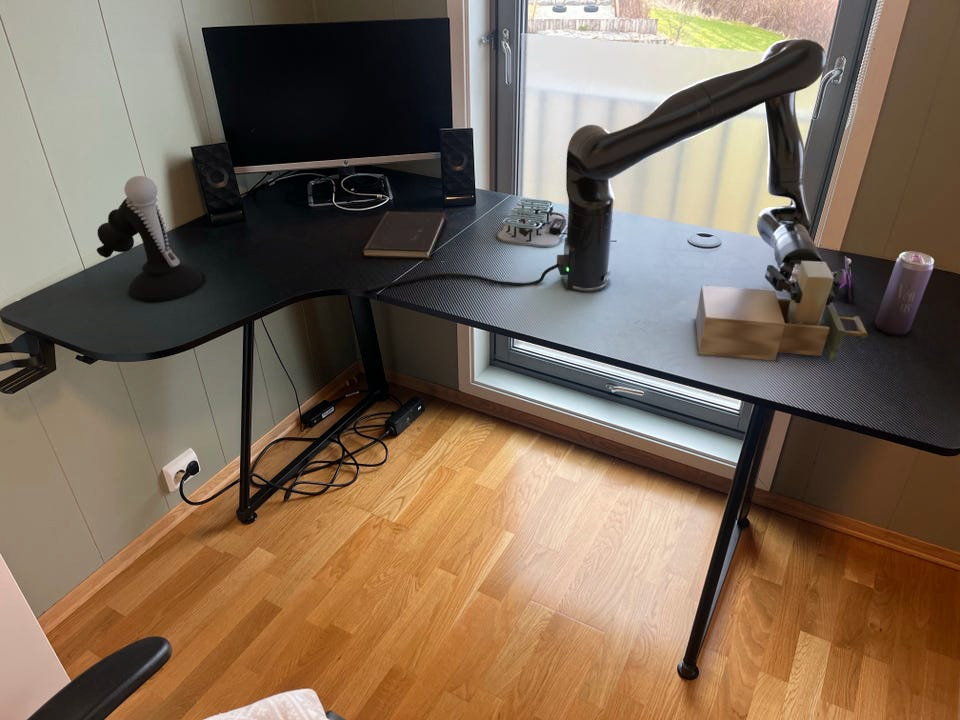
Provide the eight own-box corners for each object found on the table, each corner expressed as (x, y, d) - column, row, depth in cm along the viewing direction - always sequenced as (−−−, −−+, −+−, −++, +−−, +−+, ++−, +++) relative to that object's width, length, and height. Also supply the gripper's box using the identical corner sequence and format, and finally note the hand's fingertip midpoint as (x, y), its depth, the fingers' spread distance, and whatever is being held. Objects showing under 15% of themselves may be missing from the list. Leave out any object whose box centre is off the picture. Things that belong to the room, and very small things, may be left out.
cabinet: (766, 325, 137) (774, 290, 132) (775, 360, 127) (785, 323, 122) (695, 320, 139) (701, 285, 135) (699, 354, 129) (706, 317, 125)
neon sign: (614, 238, 162) (493, 225, 170) (612, 255, 164) (493, 241, 172) (627, 205, 178) (517, 194, 186) (626, 221, 181) (517, 209, 189)
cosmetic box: (785, 317, 132) (800, 259, 125) (809, 319, 131) (826, 260, 124) (791, 335, 127) (807, 276, 120) (816, 337, 126) (834, 277, 119)
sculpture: (172, 306, 148) (137, 193, 134) (84, 290, 155) (43, 181, 141) (216, 274, 160) (188, 167, 146) (133, 261, 167) (99, 158, 153)
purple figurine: (852, 273, 140) (850, 255, 147) (823, 277, 142) (823, 259, 149) (855, 302, 143) (853, 283, 150) (827, 306, 145) (826, 287, 152)
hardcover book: (445, 221, 183) (444, 212, 182) (429, 259, 165) (428, 250, 163) (385, 219, 185) (385, 211, 184) (363, 257, 166) (362, 248, 165)
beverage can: (908, 324, 136) (934, 254, 128) (909, 339, 132) (936, 267, 123) (874, 318, 138) (898, 248, 130) (874, 332, 134) (898, 261, 125)
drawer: (849, 330, 133) (859, 301, 130) (864, 362, 124) (875, 333, 121) (755, 322, 136) (762, 294, 133) (763, 354, 127) (770, 324, 124)
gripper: (762, 236, 135) (775, 277, 122) (841, 241, 133) (863, 283, 119) (754, 271, 140) (766, 314, 126) (830, 276, 137) (851, 321, 123)
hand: (813, 299), depth 123 cm, fingers closed on cosmetic box, 4 cm apart
